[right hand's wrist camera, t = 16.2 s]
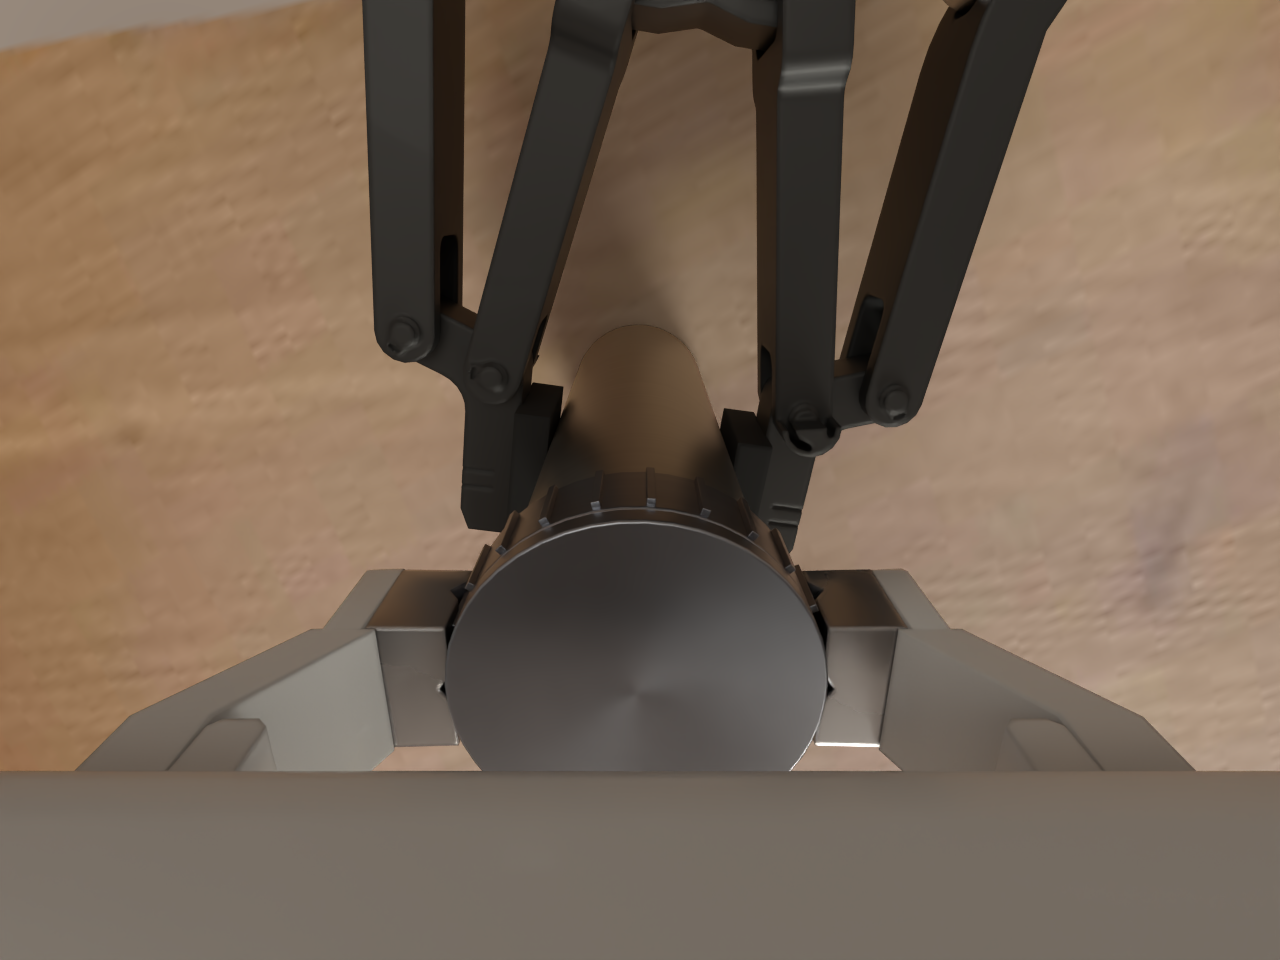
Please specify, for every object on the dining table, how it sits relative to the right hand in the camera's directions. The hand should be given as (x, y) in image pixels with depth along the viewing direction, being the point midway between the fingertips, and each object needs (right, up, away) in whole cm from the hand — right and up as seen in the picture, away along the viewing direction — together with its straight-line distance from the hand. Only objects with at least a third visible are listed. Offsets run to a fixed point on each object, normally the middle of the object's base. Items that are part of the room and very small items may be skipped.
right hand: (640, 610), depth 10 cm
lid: (0, -1, -1) cm, 2 cm away
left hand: (-1, -2, +8) cm, 9 cm away
